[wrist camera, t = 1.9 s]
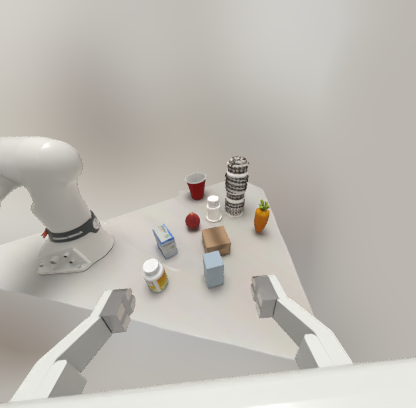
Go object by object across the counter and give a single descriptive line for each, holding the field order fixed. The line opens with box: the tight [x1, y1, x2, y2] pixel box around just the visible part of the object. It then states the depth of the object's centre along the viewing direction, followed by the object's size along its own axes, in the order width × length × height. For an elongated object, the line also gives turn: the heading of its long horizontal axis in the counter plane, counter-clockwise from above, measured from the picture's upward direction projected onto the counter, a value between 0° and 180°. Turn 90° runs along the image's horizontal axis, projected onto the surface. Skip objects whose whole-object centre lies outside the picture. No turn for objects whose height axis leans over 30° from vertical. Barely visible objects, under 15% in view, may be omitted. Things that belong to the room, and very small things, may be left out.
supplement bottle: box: [143, 259, 168, 293], centre depth 43 cm, size 5×5×10 cm
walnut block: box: [202, 226, 231, 256], centre depth 54 cm, size 8×8×6 cm
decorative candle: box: [225, 157, 249, 217], centre depth 64 cm, size 9×9×25 cm
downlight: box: [206, 196, 222, 222], centre depth 66 cm, size 8×7×10 cm
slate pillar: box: [203, 251, 224, 288], centre depth 43 cm, size 4×4×10 cm
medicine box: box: [153, 224, 178, 259], centre depth 53 cm, size 8×4×9 cm, turn 37°
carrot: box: [254, 199, 270, 233], centre depth 56 cm, size 5×5×15 cm
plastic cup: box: [185, 172, 206, 200], centre depth 78 cm, size 11×11×12 cm
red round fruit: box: [185, 212, 200, 229], centre depth 61 cm, size 6×6×8 cm
